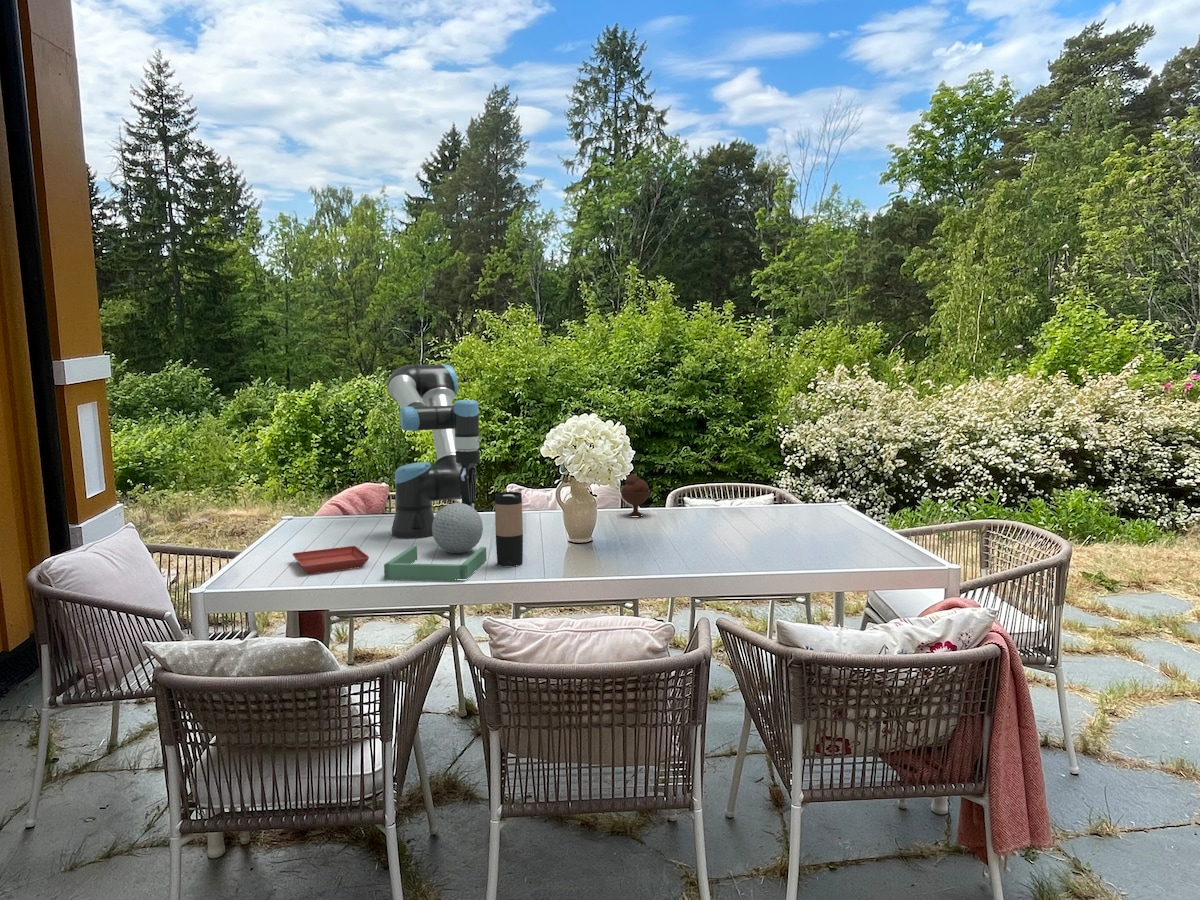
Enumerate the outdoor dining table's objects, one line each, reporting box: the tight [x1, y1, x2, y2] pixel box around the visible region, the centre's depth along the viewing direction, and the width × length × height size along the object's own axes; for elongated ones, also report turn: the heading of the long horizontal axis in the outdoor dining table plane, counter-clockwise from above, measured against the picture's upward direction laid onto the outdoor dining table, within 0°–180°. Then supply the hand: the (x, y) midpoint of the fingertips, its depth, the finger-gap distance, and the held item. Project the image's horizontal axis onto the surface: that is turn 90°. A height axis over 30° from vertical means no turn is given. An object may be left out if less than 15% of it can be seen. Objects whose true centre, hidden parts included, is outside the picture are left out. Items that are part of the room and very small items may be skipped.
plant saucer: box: [291, 545, 370, 575], centre depth 231 cm, size 18×18×3 cm
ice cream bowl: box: [620, 474, 651, 517], centre depth 297 cm, size 11×11×15 cm
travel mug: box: [494, 491, 524, 567], centre depth 229 cm, size 8×8×20 cm
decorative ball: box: [432, 502, 484, 554], centre depth 243 cm, size 15×15×15 cm
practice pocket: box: [383, 545, 487, 581], centre depth 224 cm, size 22×22×4 cm
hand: (469, 524), depth 256 cm, fingers closed
